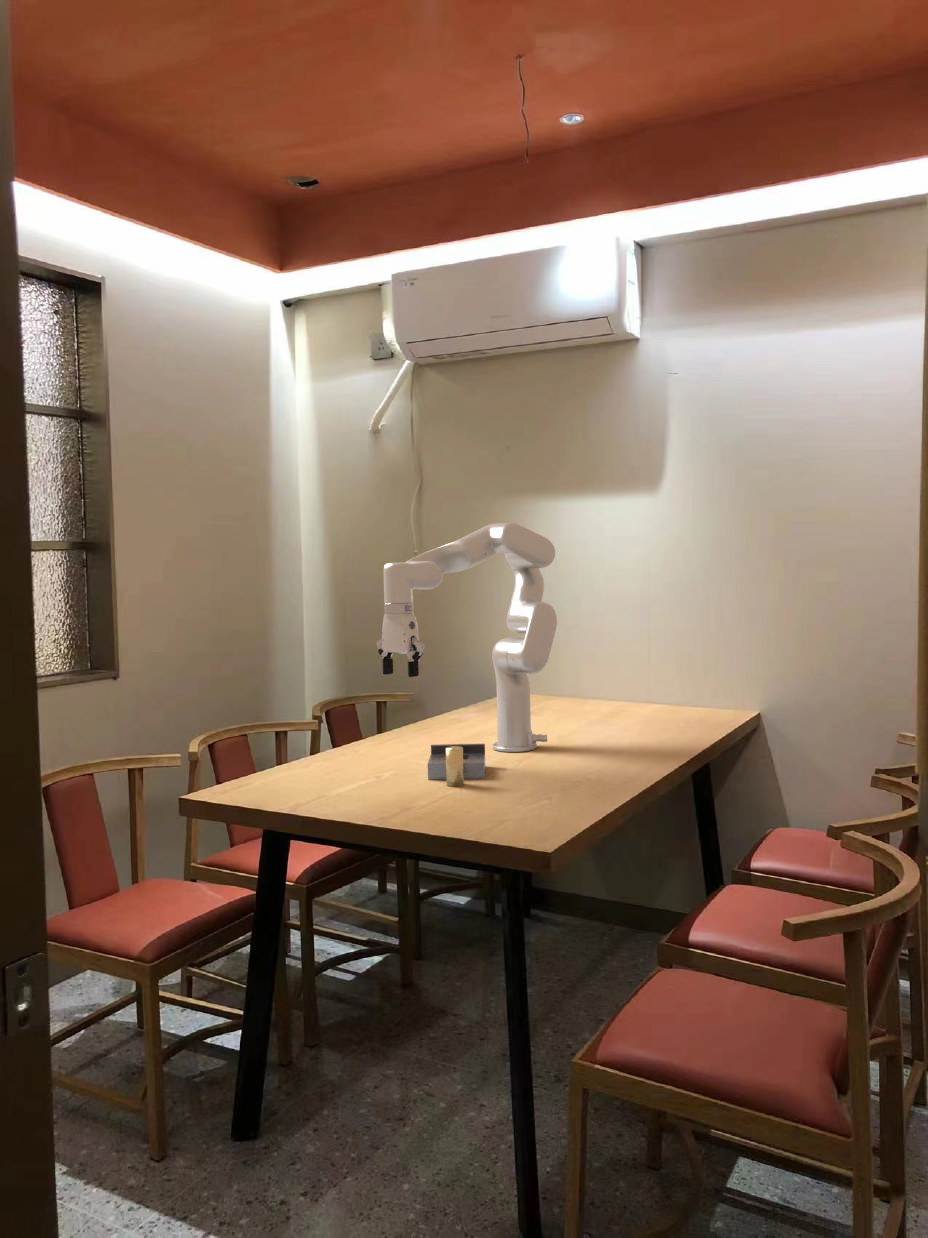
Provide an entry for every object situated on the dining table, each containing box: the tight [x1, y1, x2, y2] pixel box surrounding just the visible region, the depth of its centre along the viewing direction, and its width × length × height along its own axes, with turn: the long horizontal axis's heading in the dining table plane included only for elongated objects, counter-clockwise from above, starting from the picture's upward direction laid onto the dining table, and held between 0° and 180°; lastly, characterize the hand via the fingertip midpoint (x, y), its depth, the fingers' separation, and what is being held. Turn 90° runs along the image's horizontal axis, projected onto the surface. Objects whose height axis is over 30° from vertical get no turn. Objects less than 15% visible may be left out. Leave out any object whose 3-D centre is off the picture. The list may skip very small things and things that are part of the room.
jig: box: [427, 743, 486, 781], centre depth 247 cm, size 14×14×6 cm
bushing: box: [445, 746, 465, 788], centre depth 234 cm, size 4×4×9 cm
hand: (400, 675), depth 254 cm, fingers open, 9 cm apart
